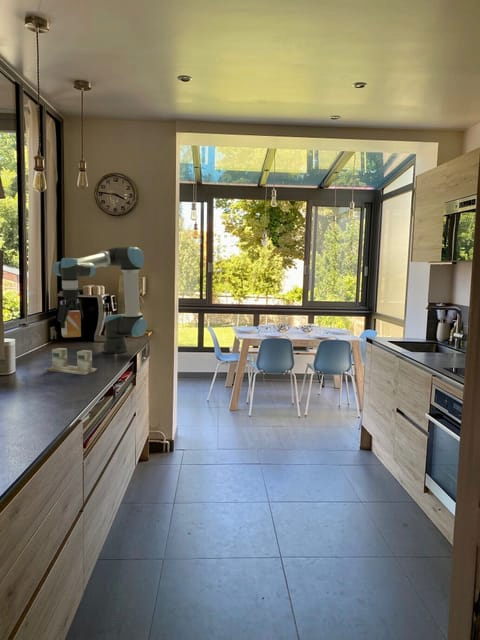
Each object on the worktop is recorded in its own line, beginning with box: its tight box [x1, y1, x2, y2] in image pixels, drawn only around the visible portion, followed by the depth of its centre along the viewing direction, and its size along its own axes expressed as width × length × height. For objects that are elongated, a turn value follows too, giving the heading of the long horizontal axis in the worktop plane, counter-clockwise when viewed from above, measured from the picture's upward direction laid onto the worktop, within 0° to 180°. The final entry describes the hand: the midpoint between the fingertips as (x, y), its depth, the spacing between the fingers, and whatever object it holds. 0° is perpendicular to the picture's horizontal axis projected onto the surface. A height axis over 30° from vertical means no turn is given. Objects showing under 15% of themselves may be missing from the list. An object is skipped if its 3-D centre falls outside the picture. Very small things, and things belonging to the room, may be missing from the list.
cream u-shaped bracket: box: [47, 347, 98, 375], centre depth 225 cm, size 10×22×11 cm, turn 73°
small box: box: [61, 309, 82, 338], centre depth 222 cm, size 8×6×13 cm
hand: (71, 333), depth 223 cm, fingers closed on small box, 10 cm apart
